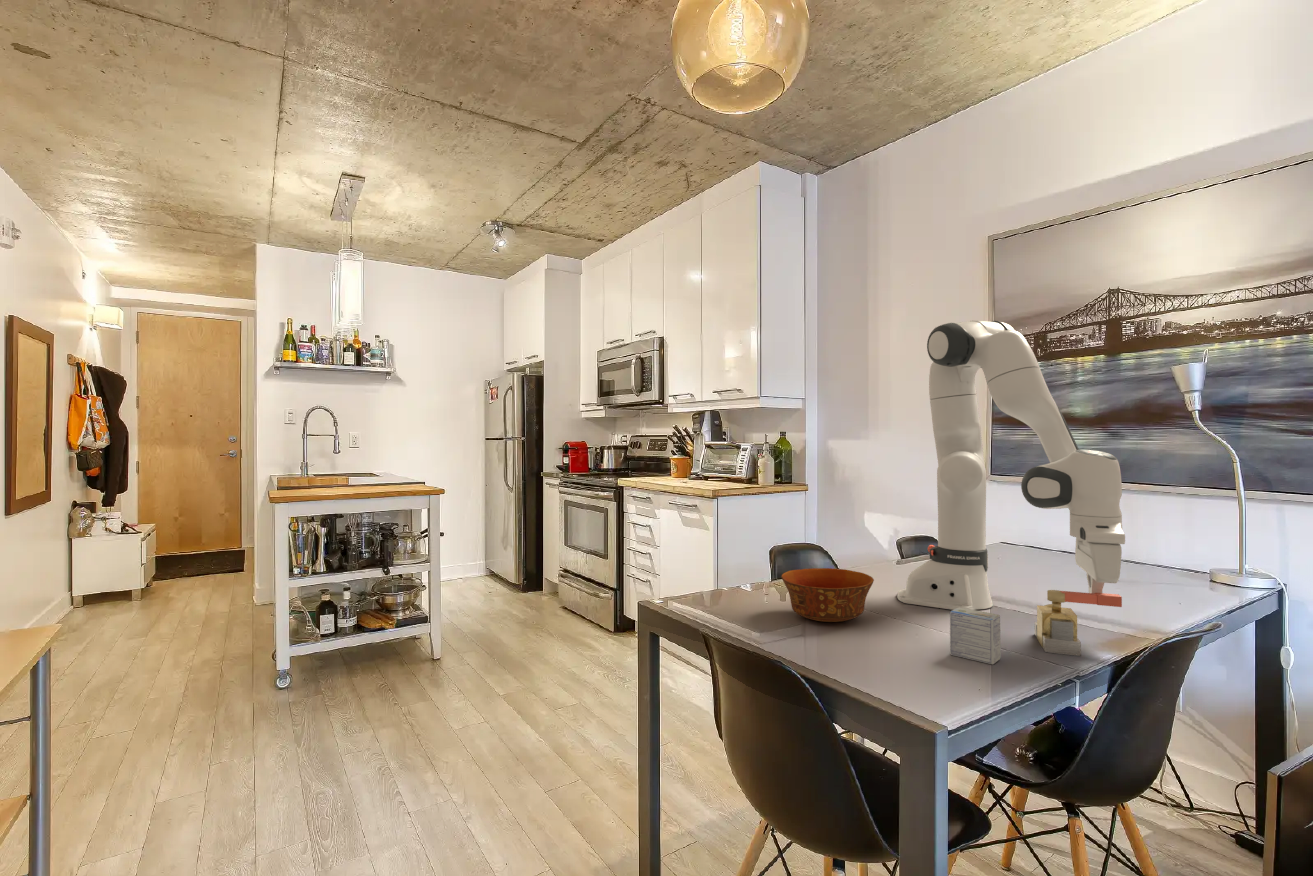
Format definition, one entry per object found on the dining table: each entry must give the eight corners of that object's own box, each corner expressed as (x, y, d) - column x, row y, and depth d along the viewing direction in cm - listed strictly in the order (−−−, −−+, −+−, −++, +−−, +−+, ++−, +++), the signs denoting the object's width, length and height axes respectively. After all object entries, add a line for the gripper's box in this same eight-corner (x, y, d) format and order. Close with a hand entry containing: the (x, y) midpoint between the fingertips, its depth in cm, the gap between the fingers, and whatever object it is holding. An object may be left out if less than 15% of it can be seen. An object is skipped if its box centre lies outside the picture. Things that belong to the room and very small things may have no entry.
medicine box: (1001, 660, 120) (1001, 614, 120) (993, 666, 117) (993, 619, 117) (958, 650, 126) (958, 606, 126) (949, 655, 123) (949, 610, 123)
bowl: (793, 632, 137) (793, 586, 137) (772, 606, 158) (772, 567, 158) (888, 632, 138) (888, 586, 138) (854, 606, 159) (855, 566, 159)
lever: (1048, 601, 128) (1048, 591, 128) (1046, 598, 131) (1046, 588, 131) (1122, 608, 124) (1122, 597, 124) (1117, 604, 127) (1117, 593, 127)
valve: (1080, 656, 122) (1080, 610, 122) (1045, 652, 125) (1045, 607, 125) (1067, 637, 134) (1067, 596, 134) (1034, 634, 136) (1034, 593, 136)
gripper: (1067, 522, 141) (1067, 584, 141) (1088, 534, 122) (1088, 606, 122) (1101, 523, 138) (1101, 586, 138) (1128, 536, 119) (1128, 610, 119)
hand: (1095, 596), depth 130 cm, fingers closed
